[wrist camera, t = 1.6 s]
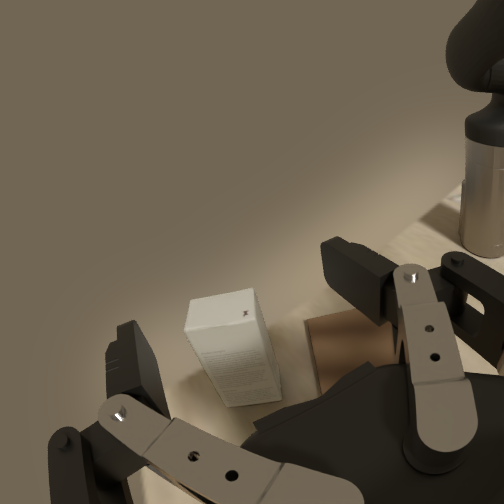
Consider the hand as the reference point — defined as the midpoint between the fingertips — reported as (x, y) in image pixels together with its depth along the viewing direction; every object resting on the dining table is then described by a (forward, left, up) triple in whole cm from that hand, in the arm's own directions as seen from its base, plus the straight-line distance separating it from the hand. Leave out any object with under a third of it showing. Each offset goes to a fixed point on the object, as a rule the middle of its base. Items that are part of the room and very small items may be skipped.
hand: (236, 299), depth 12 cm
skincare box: (-10, -4, -21) cm, 23 cm away
